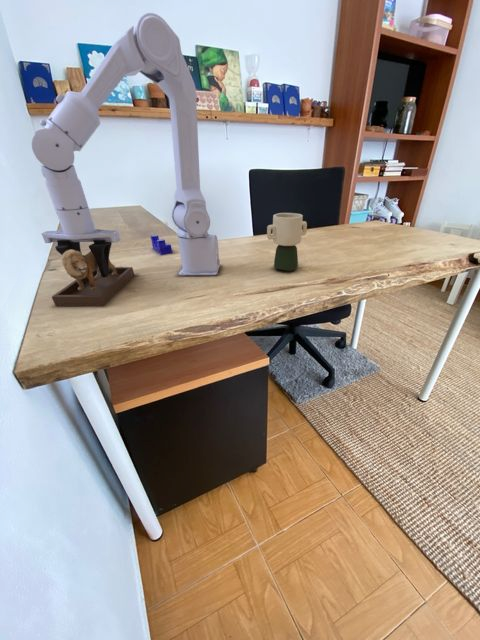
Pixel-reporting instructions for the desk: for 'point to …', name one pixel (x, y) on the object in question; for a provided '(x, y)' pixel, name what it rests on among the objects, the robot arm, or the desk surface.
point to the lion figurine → (83, 267)
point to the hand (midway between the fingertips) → (95, 275)
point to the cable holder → (160, 245)
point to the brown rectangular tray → (94, 297)
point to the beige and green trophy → (286, 239)
